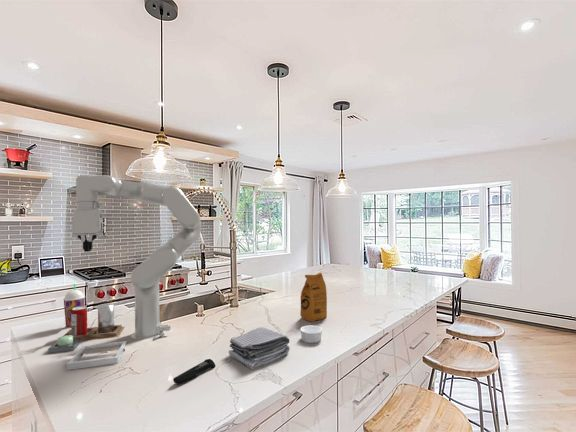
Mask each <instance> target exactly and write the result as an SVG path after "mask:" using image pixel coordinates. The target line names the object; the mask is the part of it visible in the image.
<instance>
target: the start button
mask: <svg viewBox="0 0 576 432" xmlns="http://www.w3.org/2000/svg"><path fill="white" fill-rule="evenodd" d="M57 340H58V346H65V345H71V344H72V343H73V336H72V335H67V336H64V335H62V336H60V337H57Z"/></svg>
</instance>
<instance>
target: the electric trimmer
mask: <svg viewBox="0 0 576 432" xmlns="http://www.w3.org/2000/svg"><path fill="white" fill-rule="evenodd" d="M215 367H216V363H215V361H214V360H213V359H211V358H206V359H205V360H204V361H202V362H200V363H198V364H197V365H194V366H193V367H191V368H189V369H187V370H185V371H184V372H182V373H181V374H178V375H177V376H175V377H173V379H172V381H173V383H174V384H177V385H182V384H185V383H186V382H189V381H191V380H193V379H195V378H197V376H198V375H200V374H202V373H204V372H205V371H207V370H209V369H211V368H213V369H214V368H215Z"/></svg>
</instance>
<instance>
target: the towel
mask: <svg viewBox="0 0 576 432" xmlns="http://www.w3.org/2000/svg"><path fill="white" fill-rule="evenodd" d="M229 343H230V344H229V347H230V348H231V349H229V350H228V355H229V356H230V357H231V358H233V359H235V360H237V361H238V362H240V363H242V364H244V365H245V366H246V367H249V368H250V369H251V370H254V369H255V370H256V368H258V367H262V366H264V365H266V364H269V363H271V362H273V361H275V360H279V359H281V358H283V357H284V356H286V355H287V354H288V353H289V351H290V350H291V349H290V346H289V345H288V344H290V338H289V337H287V335H284V334H282V333H280V332H278V331H274V330H271V329H269V328H268V327H267V328H266V327H264V326H263V327H257V328H255V329H252V330H250V331H248V332H246V333H243V334H240V335H238V336H235V337H232V338H230V340H229Z"/></svg>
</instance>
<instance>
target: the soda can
mask: <svg viewBox="0 0 576 432" xmlns="http://www.w3.org/2000/svg"><path fill="white" fill-rule="evenodd" d="M70 328H71V329H70V330H71V335H72V336H79V335H86V334H87V328H88V309H87V306H80V307H75V308H73V309H72V312H71V327H70Z"/></svg>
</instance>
